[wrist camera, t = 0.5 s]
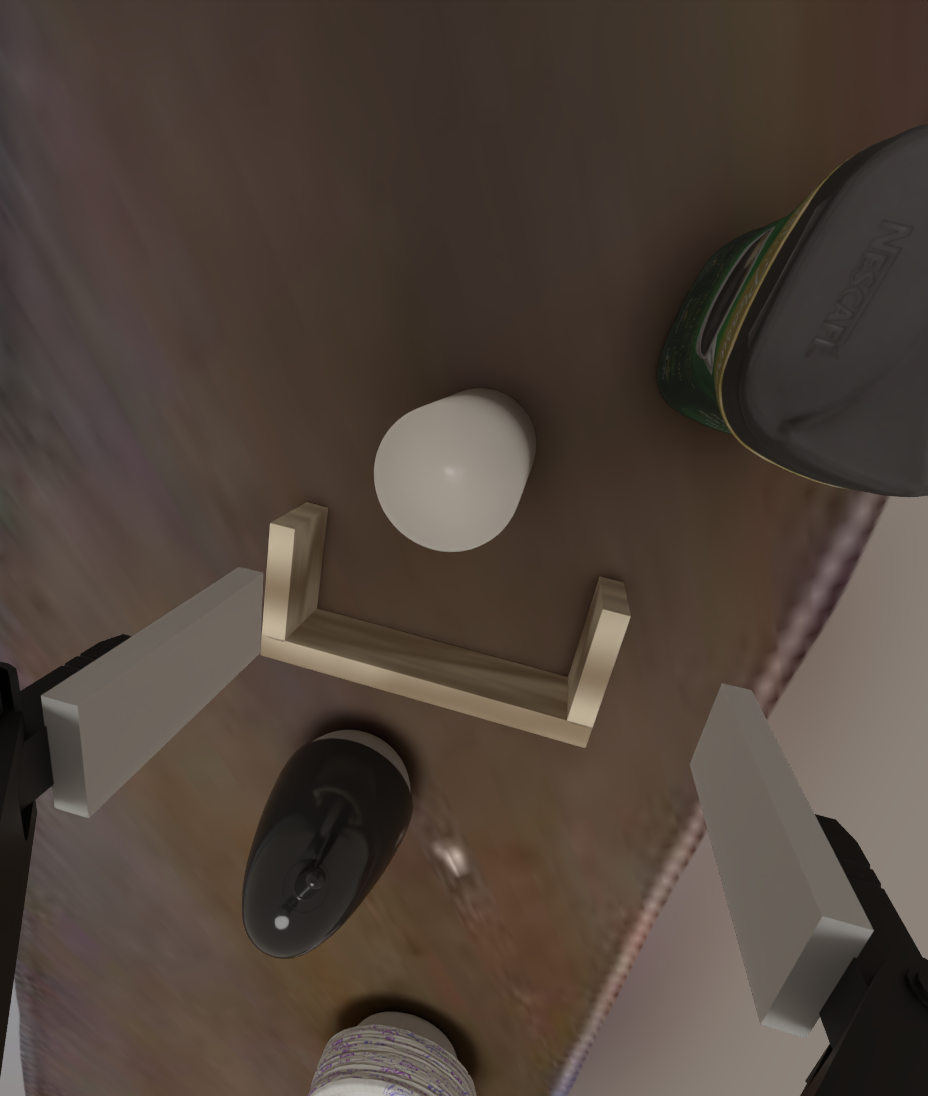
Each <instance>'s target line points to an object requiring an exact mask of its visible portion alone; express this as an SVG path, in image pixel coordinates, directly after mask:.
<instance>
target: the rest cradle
mask: <svg viewBox="0 0 928 1096" xmlns="http://www.w3.org/2000/svg"><path fill="white" fill-rule="evenodd" d="M327 516H328V507H324V506H320V505H316V504H312V503H308V502H306V503H304V504H303V505H301V506H299V507H297V508H296V509H294V510H292V511H290V512H289V513H287V514H285V515H283V516H282V517H280V518H278V519H276V520H275V521H273V522H271V523H270V533H269V546H268V560H267V574H266V587H265V601H264V614H263V628H262V641H261V655H262V656H266V657H269V658H273V659H276V660H280V661H283V662H287V663H290V664H294V665H297V666H301V667H304V668H308V669H311V670H315V671H318V672H322V673H325V674H329V675H332V676H336V677H339V678H343V679H346V680H350V681H353V682H356V683H360V684H363V685H367V686H370V687H374V688H377V689H381V690H384V691H388V692H391V693H395V694H398V695H402V696H405V697H409V698H412V699H416V700H419V701H423V702H426V703H430V704H433V705H437V706H440V707H444V708H447V709H451V710H454V711H458V712H461V713H465V714H468V715H472V716H475V717H479V718H482V719H486V720H489V721H493V722H496V723H500V724H503V725H507V726H510V727H514V728H517V729H521V730H524V731H528V732H531V733H535V734H538V735H542V736H545V737H549V738H552V739H556V740H559V741H563V742H566V743H569V744H573V745H576V746H580V747H583V748H586V745H587V742H588V739H589V736H590V733H591V730H592V727H593V725H594V722H595V719H596V716H597V713H598V710H599V707H600V704H601V701H602V698H603V696H604V693H605V690H606V687H607V684H608V681H609V678H610V675H611V672H612V670H613V667H614V664H615V661H616V658H617V655H618V652H619V649H620V646H621V643H622V641H623V638H624V635H625V632H626V629H627V626H628V623H629V620H630V617H631V615H630V610H629V605H628V600H627V595H626V590H625V585H624V582H620V581H616V580H612V579H608V578H604V577H600V576H599V580H598V583H597V586H596V589H595V592H594V596H593V599H592V602H591V605H590V608H589V612H588V615H587V618H586V621H585V624H584V628H583V631H582V634H581V637H580V640H579V644H578V647H577V650H576V653H575V656H574V660H573V663H572V666H571V669H570V672H569V676H568V677H566V676H563V675H559V674H555V673H552V672H548V671H544V670H541V669H537V668H534V667H530V666H526V665H523V664H519V663H515V662H512V661H508V660H504V659H501V658H497V657H493V656H490V655H486V654H482V653H479V652H475V651H471V650H468V649H464V648H461V647H457V646H453V645H450V644H446V643H442V642H439V641H435V640H431V639H428V638H424V637H420V636H417V635H413V634H409V633H406V632H402V631H398V630H395V629H391V628H387V627H384V626H380V625H377V624H373V623H369V622H366V621H362V620H358V619H355V618H351V617H347V616H344V615H340V614H336V613H333V612H329V611H325V610H322V609H318V608H317V605H318V596H319V587H320V578H321V570H322V561H323V552H324V543H325V534H326V525H327Z"/></svg>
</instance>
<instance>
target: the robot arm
mask: <svg viewBox="0 0 928 1096" xmlns="http://www.w3.org/2000/svg"><path fill="white" fill-rule="evenodd" d="M262 591H263V573H262V572H258V571H254V570H250V569H246V568H242V567H238V568H237V569H235V570H234V571H232V572H230V573H229V574H227V575H226V576H224V577H223V578H221V579H220V580H218V581H217V582H215V583H214V584H212V585H210V586H209V587H207V588H206V589H204V590H203V591H201V592H200V593H198V594H197V595H195V596H194V597H192V598H190V599H189V600H187V601H186V602H184V603H183V604H181V605H180V606H178V607H177V608H175V609H173V610H172V611H170V612H169V613H167V614H166V615H164V616H163V617H161V618H160V619H158V620H157V621H155V622H153V623H152V624H150V625H149V626H147V627H146V628H144V629H143V630H141V631H140V632H138V633H137V634H135V635H133V636H128V635H124V634H122V635H120V636H117V637H114V638H111V639H108V640H105V641H102V642H99V643H98V644H96V645H94V646H93V647H91V648H89V649H88V650H86V651H85V652H83V653H81V655H80V657H78V656H77V657H75V658H73V659H72V660H70V661H68V662H67V663H65V666H60V667H59V668H57V669H55V670H54V671H52V672H51V673H49V674H47V675H46V676H44V677H43V678H41V679H39V680H38V681H36V682H34V683H33V684H31V685H30V686H28V687H26V688H25V689H23V690H21V691H20V689H19V681H18V675H17V670H16V668H15V667H13V666H12V665H10V664H8V663H4V662H0V1075H1V1068H2V1060H3V1053H4V1046H5V1039H6V1032H7V1024H8V1017H9V1010H10V1003H11V995H12V989H13V981H14V974H15V967H16V960H17V953H18V945H19V938H20V931H21V924H22V917H23V909H24V902H25V895H26V888H27V881H28V873H29V866H30V859H31V852H32V845H33V837H34V830H35V823H36V816H37V808H36V801H35V799H37V798H38V797H39V796H40V795H41V794H43V793H44V792H45V791H46V790H47V789H49V788H50V787H51V786H52V789H53V797H54V804H55V808H57V809H60V810H63V811H67V812H70V813H73V814H76V815H80V816H83V817H86V818H89V817H91V816H92V815H93V814H94V813H95V812H96V811H97V810H98V809H99V808H100V807H101V806H102V805H103V804H104V803H105V802H106V801H107V800H108V799H109V798H110V797H111V796H112V795H113V794H114V793H115V792H116V791H117V790H119V789H120V788H121V787H122V786H123V785H124V784H125V783H126V782H127V781H128V780H129V779H130V778H131V777H132V776H133V775H134V774H135V773H136V772H137V771H138V770H139V769H140V768H141V767H142V766H143V765H144V764H145V763H146V762H148V761H149V760H150V759H151V758H152V757H153V756H154V755H155V754H156V753H157V752H158V751H159V750H160V749H161V748H162V747H163V746H164V745H165V744H166V743H167V742H168V741H169V740H170V739H171V738H172V737H173V736H174V735H176V734H177V733H178V732H179V731H180V730H181V729H182V728H183V727H184V726H185V725H186V724H187V723H188V722H189V721H190V720H191V719H192V718H193V717H194V716H195V715H196V714H197V713H198V712H199V711H200V710H201V709H202V708H204V707H205V706H206V705H207V704H208V703H209V702H210V701H211V700H212V699H213V698H214V697H215V696H216V695H217V694H218V693H219V692H220V691H221V690H222V689H223V688H224V687H225V686H226V685H227V684H228V683H229V682H230V681H232V680H233V679H234V678H235V677H236V676H237V675H238V674H239V673H240V672H241V671H242V670H243V669H244V668H245V667H246V666H247V665H248V664H249V663H250V662H251V661H252V660H253V659H254V658H255V657H256V656H257V655H258V654H259V653H260V640H261V615H262ZM690 767H691V771H692V774H693V778H694V782H695V785H696V789H697V793H698V796H699V800H700V804H701V807H702V811H703V815H704V818H705V822H706V826H707V829H708V833H709V837H710V840H711V844H712V848H713V851H714V855H715V859H716V862H717V866H718V870H719V874H720V877H721V881H722V885H723V888H724V892H725V896H726V899H727V903H728V907H729V910H730V914H731V917H732V921H733V925H734V929H735V933H736V936H737V940H738V943H739V947H740V951H741V955H742V958H743V962H744V966H745V969H746V973H747V976H748V980H749V984H750V987H751V991H752V995H753V999H754V1002H755V1006H756V1010H757V1013H758V1017H759V1021H760V1024H761V1025H764V1026H767V1027H770V1028H774V1029H777V1030H780V1031H783V1032H787V1033H790V1034H793V1035H796V1036H800V1037H803V1038H807V1036H808V1035H809V1033H810V1032H811V1030H812V1028H813V1027H814V1025H815V1024H816V1022H817V1020H818V1019H819V1017H821V1020H822V1023H823V1026H824V1028H825V1031H826V1034H827V1036H828V1039H829V1042H830V1044H829V1046H828V1047H827V1049H826V1050H825V1052H824V1053H823V1055H822V1056H821V1058H820V1060H819V1061H818V1062H817V1064H816V1066H815V1067H814V1069H813V1070H812V1072H811V1073H810V1075H809V1076H808V1078H807V1079H806V1082H807V1084H806V1086H805V1088H804V1090H803V1092H802V1094H801V1096H928V960H927V959H925V958H923V957H922V956H921V954H920V952H919V950H918V949H917V947H916V945H915V943H914V941H913V940H912V938H911V936H910V934H909V933H908V931H907V929H906V927H905V926H904V924H903V922H902V920H901V918H900V917H899V915H898V913H897V912H896V910H895V908H894V906H893V905H892V903H891V901H890V899H889V897H888V896H887V894H886V892H885V890H884V889H882V888H881V883H880V881H879V880H878V878H877V876H876V874H875V873H874V871H873V870H872V869H870V864H869V862H868V860H867V859H866V857H865V855H864V853H863V852H862V850H861V848H860V846H859V845H858V843H857V842H856V840H855V839H854V838H853V837H852V836H851V835H850V834H849V833H848V832H847V831H846V830H845V829H844V828H843V827H842V826H841V825H840V824H839V823H838V822H837V820H835V819H831V818H827V817H824V816H820V815H816V814H814V812H813V810H812V809H811V806H810V805H809V802H808V800H807V798H806V797H805V794H804V793H803V791H802V789H801V787H800V785H799V783H798V781H797V779H796V777H795V775H794V773H793V771H792V769H791V767H790V765H789V764H788V761H787V759H786V757H785V755H784V754H783V752H782V749H781V748H780V746H779V744H778V742H777V740H776V738H775V736H774V734H773V732H772V730H771V728H770V726H769V724H768V722H767V720H766V718H765V716H764V714H763V712H762V710H761V708H760V706H759V704H758V702H757V700H756V698H755V696H754V694H753V693H752V691H751V690H748V689H744V688H739V687H735V686H731V685H727V684H723V683H722V684H721V686H720V689H719V692H718V694H717V697H716V699H715V702H714V704H713V707H712V709H711V712H710V714H709V717H708V719H707V722H706V725H705V727H704V730H703V732H702V735H701V737H700V740H699V742H698V745H697V747H696V750H695V752H694V755H693V758H692V760H691V763H690Z"/></svg>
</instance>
